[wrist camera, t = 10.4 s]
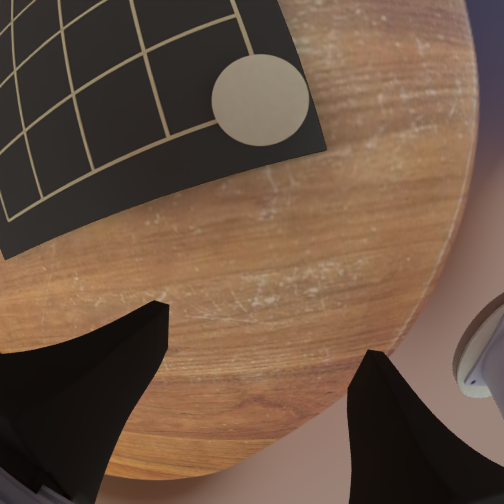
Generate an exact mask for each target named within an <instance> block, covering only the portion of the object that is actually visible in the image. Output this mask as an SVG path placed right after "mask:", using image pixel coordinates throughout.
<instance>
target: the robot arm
mask: <svg viewBox="0 0 504 504" xmlns="http://www.w3.org/2000/svg"><path fill="white" fill-rule="evenodd" d="M168 327H169V305H168V304H165V303H162V302H158V301H155V300H154V301H151V302H149V303H148V304H146V305H144V306H142V307H140V308H138V309H136V310H135V311H133V312H131V313H129V314H127V315H125V316H123V317H121V318H119V319H117V320H116V321H114V322H112V323H110V324H107V325H105V326H103V327H101V328H99V329H96V330H94V331H92V332H90V333H88V334H85V335H83V336H80V337H77V338H75V339H72V340H69V341H66V342H63V343H59V344H55V345H51V346H47V347H43V348H39V349H35V350H29V351H23V352H16V353H7V354H0V504H95V501H96V497H97V494H98V491H99V488H100V484H101V482H102V479H103V476H104V473H105V470H106V468H107V465H108V462H109V460H110V457H111V455H112V452H113V450H114V448H115V445H116V443H117V441H118V438H119V436H120V434H121V432H122V430H123V427H124V425H125V423H126V421H127V419H128V417H129V416H130V414H131V412H132V410H133V409H134V407H135V406H136V404H137V402H138V401H139V399H140V398H141V396H142V394H143V393H144V391H145V390H146V388H147V387H148V385H149V383H150V382H151V380H152V379H153V377H154V375H155V374H156V372H157V370H158V369H159V366H160V364H161V362H162V360H163V358H164V355H165V353H166V351H167V349H168ZM464 383H465V385H466V386H487V387H488V389H489V391H490V392H491V394H492V396H493V398H494V400H495V402H496V404H497V406H498V408H499V411H500V412H501V415H502V417H503V419H504V315H503V316H502V318H501V320H500V322H499V324H498V326H497V328H496V330H495V331H494V333H493V335H492V337H491V339H490V340H489V342H488V344H487V346H486V347H485V349H484V351H483V352H482V354H481V356H480V357H479V359H478V360H477V362H476V363H475V365H474V367H473V368H472V370H471V371H470V373H469V374H468V376H467V377H466V379H465V380H464ZM347 418H348V428H349V439H350V449H351V466H352V468H351V469H352V472H351V487H350V498H349V504H504V467H502V466H500V465H499V464H497V463H495V462H493V461H491V460H489V459H488V458H486V457H484V456H483V455H481V454H480V453H478V452H477V451H475V450H474V449H472V448H471V447H469V446H468V445H467V444H466V443H464V442H463V441H462V440H461V439H460V438H458V437H457V436H456V435H455V434H454V433H452V432H451V431H450V430H449V429H448V428H447V427H446V426H445V425H444V424H443V423H442V422H441V421H440V420H439V419H438V418H436V416H435V415H434V414H432V412H431V411H430V410H429V409H428V408H427V406H426V405H425V404H424V403H423V402H422V401H421V399H420V398H419V397H418V396H417V394H416V393H415V392H414V391H413V390H412V389H411V387H410V386H409V384H408V383H407V382H406V381H405V379H404V378H403V377H402V375H401V374H400V373H399V371H398V370H397V369H396V367H395V366H394V365H393V364H392V362H391V361H390V360H389V358H388V357H387V356H386V355H385V354H384V353H383V352H381V351H375V350H369V349H368V350H367V352H366V354H365V356H364V358H363V360H362V362H361V364H360V366H359V368H358V370H357V372H356V374H355V375H354V377H353V379H352V381H351V383H350V385H349V387H348V393H347Z"/></svg>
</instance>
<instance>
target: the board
mask: <svg viewBox="0 0 504 504" xmlns="http://www.w3.org/2000/svg"><path fill="white" fill-rule="evenodd" d="M255 54H266V55H272V56H276V57H279V58H281V59H283V60H285V61H287V62H289V63H290V64H292V65H293V66H294V67H295V68H296V69H297V70H298V71H299V72H300V74H301V75H302V77H303V78H304V80H305V82H306V85H307V88H308V92H309V108H308V112H307V115H306V118H305V121H304V123H303V125H302V126H301V128H300V129H299V130H298V131H297V132H296V133H295V134H294V135H293V136H292V137H290V138H289V139H287V140H285V141H283V142H280V143H276V144H273V145H267V146H252V145H247V144H244V143H241V142H239V141H237V140H235V139H233V138H232V137H230V136H229V135H228V134H227V133H225V132H224V131H223V129H222V128H221V127H220V126H219V124H218V122H217V121H216V119H215V116H214V113H213V110H212V92H213V88H214V85H215V82H216V80H217V79H218V77H219V75H220V74H221V73H222V71H223V70H224V69H225V68H226V67H227V66H229V65H230V64H231V63H233V62H234V61H236V60H238V59H240V58H243V57H246V56H249V55H255ZM326 150H327V148H326V144H325V141H324V137H323V133H322V130H321V126H320V123H319V119H318V116H317V112H316V109H315V106H314V102H313V99H312V96H311V93H310V90H309V86H308V83H307V80H306V77H305V74H304V71H303V68H302V65H301V62H300V60H299V57H298V54H297V51H296V48H295V46H294V43H293V40H292V37H291V35H290V32H289V29H288V27H287V24H286V22H285V19H284V17H283V14H282V12H281V9H280V7H279V4H278V2H277V0H0V249H1V251H2V254H3V257H4V259H5V260H7V259H9V258H11V257H13V256H16V255H18V254H20V253H22V252H24V251H26V250H28V249H31V248H33V247H35V246H37V245H40V244H42V243H44V242H46V241H49V240H51V239H53V238H56V237H58V236H60V235H63V234H65V233H67V232H70V231H72V230H75V229H77V228H79V227H82V226H84V225H87V224H89V223H92V222H94V221H97V220H100V219H102V218H105V217H107V216H110V215H113V214H115V213H118V212H121V211H123V210H126V209H129V208H131V207H134V206H137V205H140V204H143V203H145V202H148V201H151V200H154V199H157V198H160V197H163V196H166V195H169V194H172V193H175V192H178V191H181V190H184V189H187V188H190V187H193V186H196V185H200V184H203V183H206V182H209V181H213V180H216V179H219V178H223V177H226V176H229V175H233V174H236V173H240V172H243V171H247V170H251V169H254V168H258V167H262V166H265V165H269V164H273V163H277V162H281V161H284V160H288V159H292V158H297V157H301V156H305V155H309V154H313V153H318V152H322V151H326Z"/></svg>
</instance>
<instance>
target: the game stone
mask: <svg viewBox="0 0 504 504" xmlns="http://www.w3.org/2000/svg"><path fill="white" fill-rule="evenodd" d="M308 108H309V92H308V88H307V85H306V82H305V80H304V78H303V77H302V75H301V74H300V72H299V71H298V70H297V69H296V68H295V67H294V66H293V65H292V64H290V63H289V62H287V61H285V60H283V59H281V58H279V57H276V56H272V55H266V54H255V55H249V56H246V57H243V58H240V59H238V60H236V61H234V62H233V63H231V64H230V65H229V66H227V67H226V68H225V69H224V70H223V71H222V73H221V74H220V75H219V77H218V79H217V80H216V82H215V85H214V88H213V92H212V110H213V113H214V116H215V119H216V121H217V122H218V124H219V126H220V127H221V128H222V129H223V131H224V132H225V133H227V134H228V135H229V136H230V137H232V138H233V139H235V140H237V141H239V142H241V143H244V144H247V145H252V146H267V145H273V144H276V143H280V142H283V141H285V140H287V139H289V138H290V137H292V136H293V135H294V134H295V133H296V132H297V131H298V130H299V129H300V128H301V126H302V125H303V123H304V121H305V118H306V115H307V112H308Z"/></svg>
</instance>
